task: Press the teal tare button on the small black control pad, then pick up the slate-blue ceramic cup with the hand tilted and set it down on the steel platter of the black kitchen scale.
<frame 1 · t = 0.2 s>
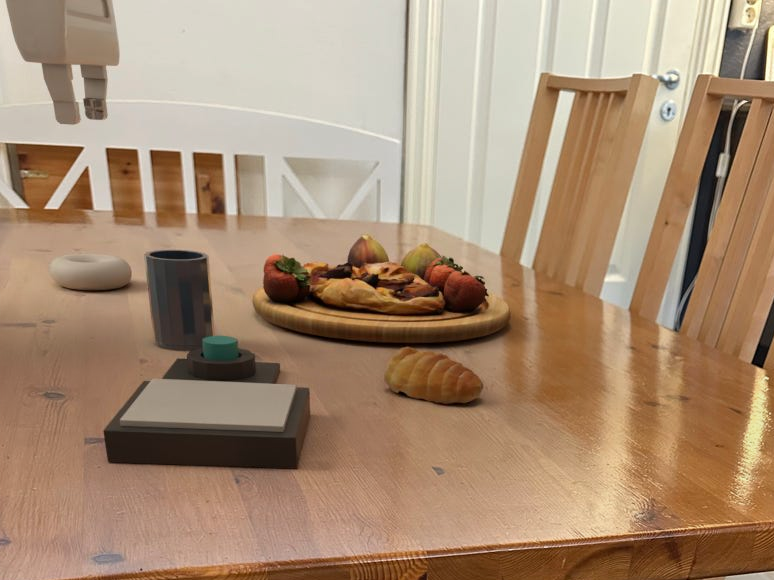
hand: (83, 121, 88), 20 cm above the table, tool pointing down, fingers open, 8 cm apart
wooden plate: (383, 318, 117), on the table
donut: (93, 286, 122), on the table
tare button: (220, 349, 88), point 3 cm above the table, slide at 0.1 cm
scale: (217, 437, 76), on the table
pastry: (431, 394, 90), on the table
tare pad: (223, 380, 89), on the table
cup: (185, 344, 100), on the table
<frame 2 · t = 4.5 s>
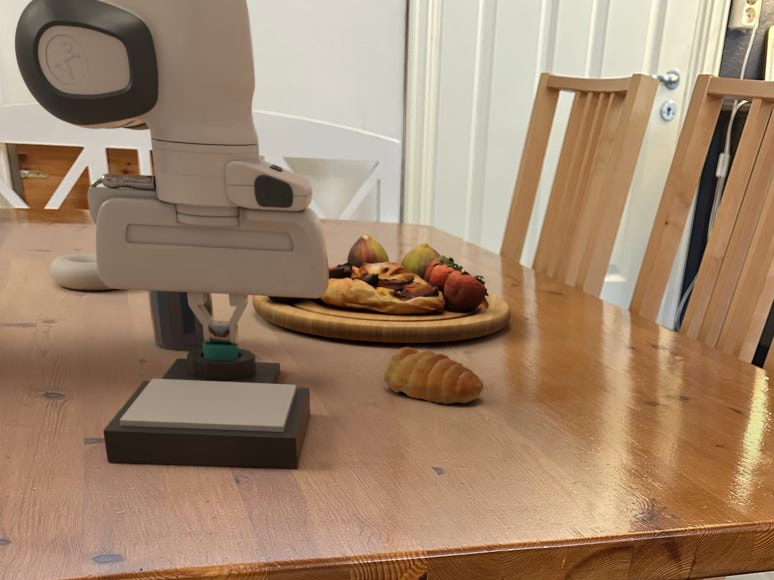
hand: (221, 342, 87), 4 cm above the table, tool pointing down, fingers closed, pressing on tare button
tare button: (220, 352, 88), point 3 cm above the table, slide at -0.2 cm, touching gripper
everything else where it was.
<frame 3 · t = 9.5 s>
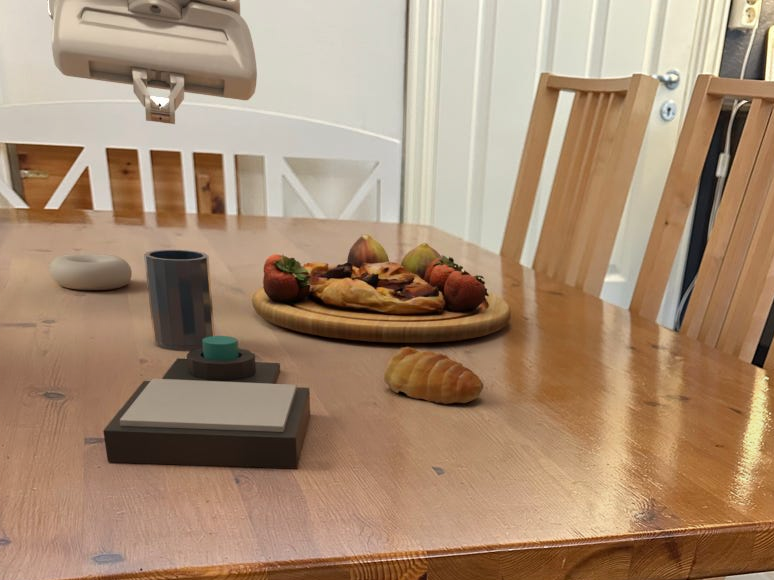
hand: (160, 118, 96), 21 cm above the table, tool tilted 40°, fingers closed
tare button: (220, 349, 88), point 3 cm above the table, slide at 0.1 cm
everything else where it was.
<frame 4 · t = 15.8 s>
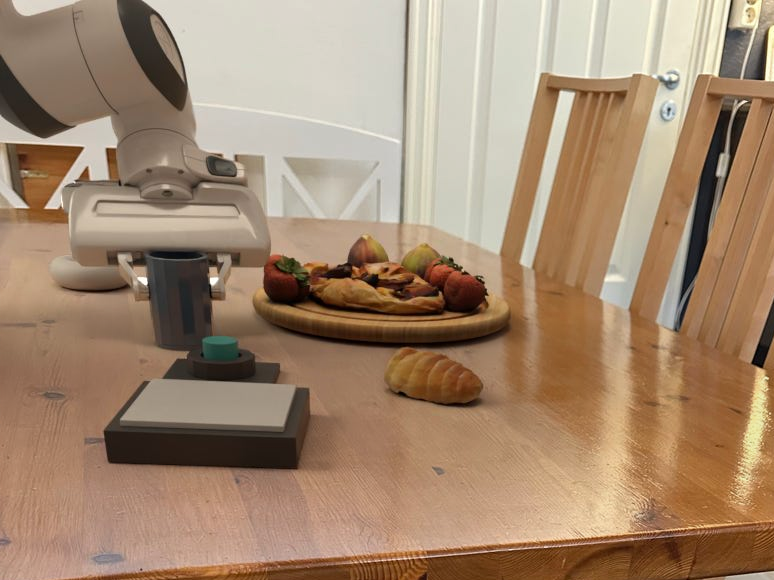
hand: (181, 297, 97), 5 cm above the table, tool tilted 45°, fingers closed on cup, 6 cm apart
cup: (184, 344, 100), on the table, touching gripper
everything else where it was.
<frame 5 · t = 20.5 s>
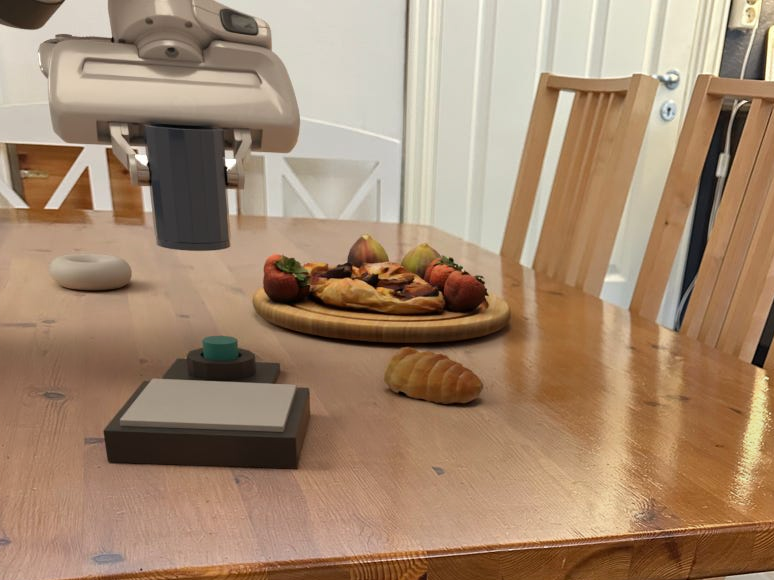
hand: (189, 183, 77), 17 cm above the table, tool tilted 45°, fingers closed on cup, 6 cm apart
cup: (193, 244, 80), point 12 cm above the table, touching gripper
everything else where it was.
when the fingers open (8 cm above the table, at t = 25.5 s): cup stays where it is, resting on scale.
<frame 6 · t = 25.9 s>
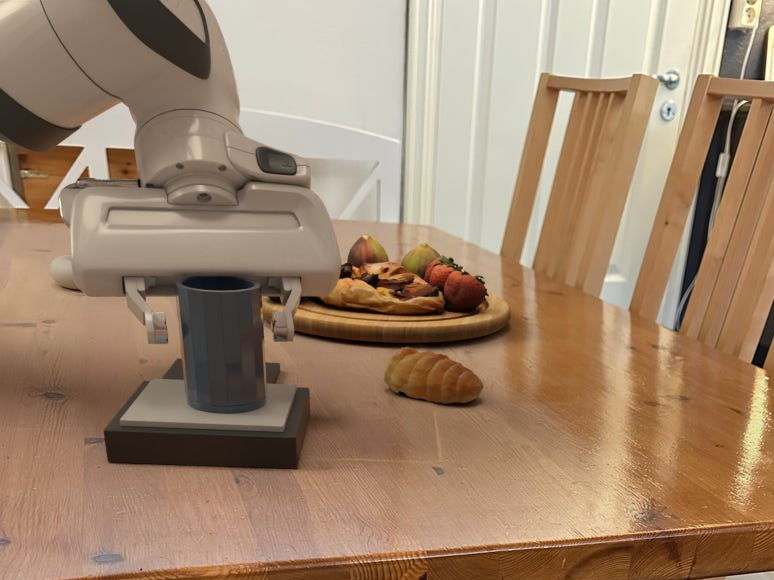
hand: (222, 339, 71), 8 cm above the table, tool tilted 45°, fingers open, 8 cm apart
cup: (227, 401, 74), point 3 cm above the table, touching scale
everything else where it was.
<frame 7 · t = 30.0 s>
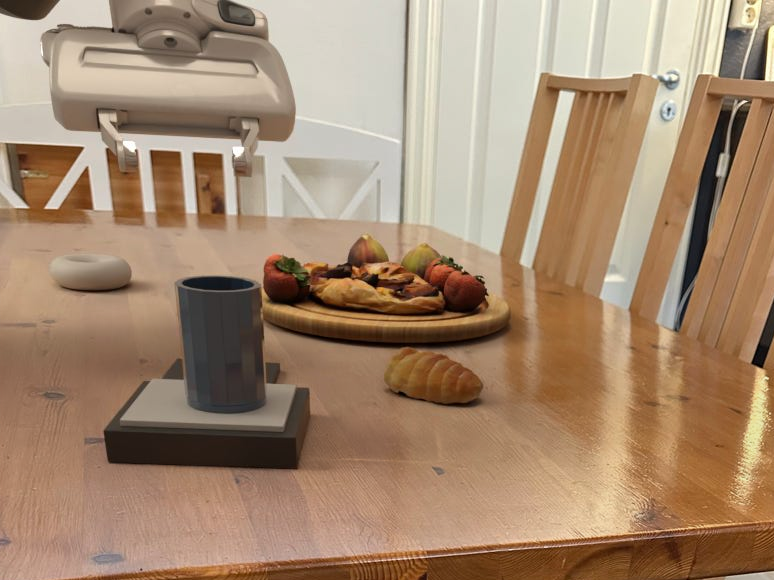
hand: (187, 169, 79), 18 cm above the table, tool tilted 45°, fingers open, 8 cm apart
nothing on the table moved.
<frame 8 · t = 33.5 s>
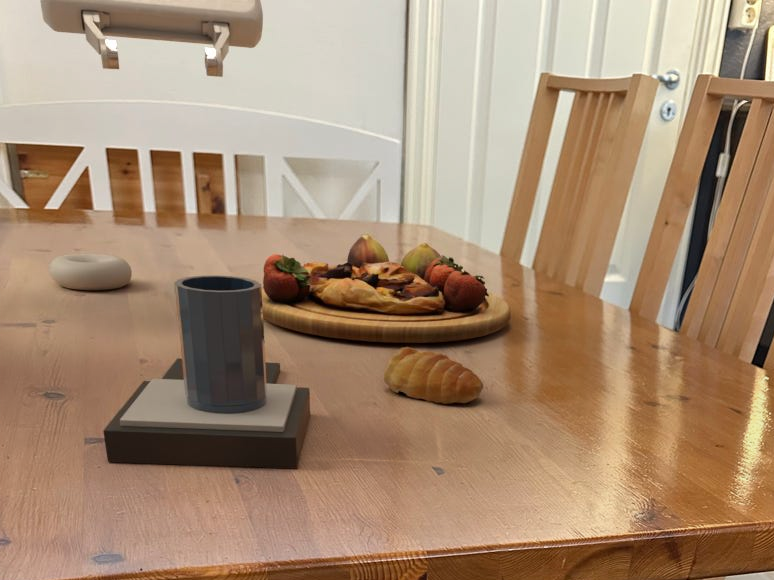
hand: (163, 67, 88), 25 cm above the table, tool tilted 45°, fingers open, 8 cm apart
nothing on the table moved.
at the end: tare button pushed in 0.9 cm at the most during the clip, back to where it started at the end; cup inside the target area on the scale (1.0 cm from its centre), point 3.0 cm above the scale's base; cup tilted 0° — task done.
